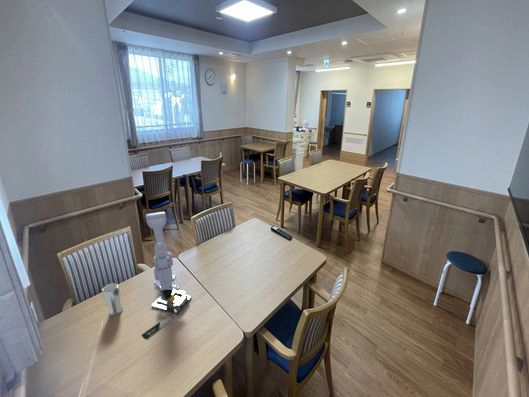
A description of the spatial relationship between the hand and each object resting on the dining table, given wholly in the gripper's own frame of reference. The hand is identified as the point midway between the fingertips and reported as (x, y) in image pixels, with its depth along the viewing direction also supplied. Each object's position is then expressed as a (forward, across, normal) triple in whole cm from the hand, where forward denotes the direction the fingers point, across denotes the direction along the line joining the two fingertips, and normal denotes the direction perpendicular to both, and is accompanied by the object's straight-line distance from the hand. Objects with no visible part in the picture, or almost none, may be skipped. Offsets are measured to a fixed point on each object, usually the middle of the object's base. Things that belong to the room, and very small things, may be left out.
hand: (168, 298), depth 133 cm
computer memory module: (+3, +5, -15) cm, 16 cm away
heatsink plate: (+3, +2, 0) cm, 3 cm away
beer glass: (+3, -22, -14) cm, 26 cm away
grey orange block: (+1, +5, 0) cm, 5 cm away
